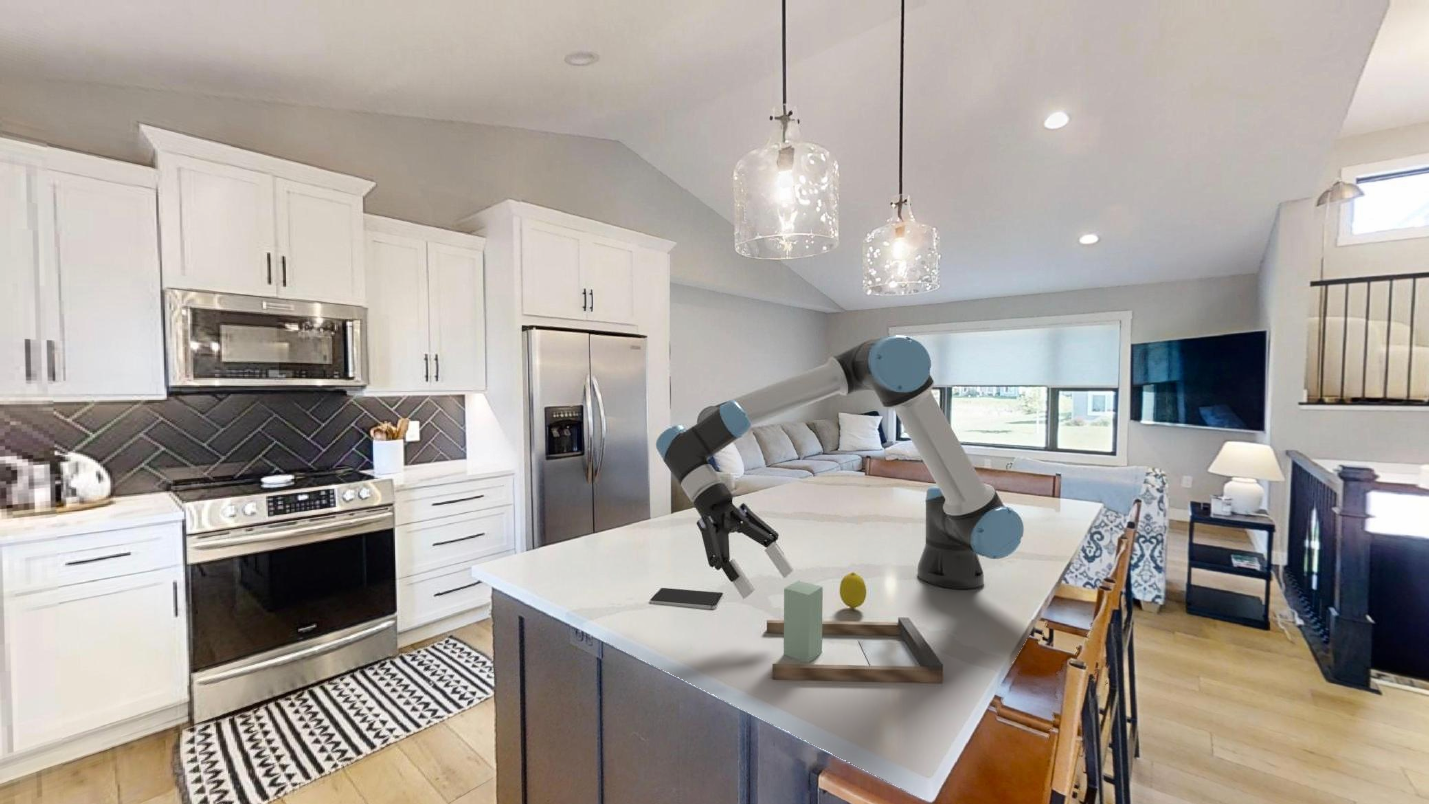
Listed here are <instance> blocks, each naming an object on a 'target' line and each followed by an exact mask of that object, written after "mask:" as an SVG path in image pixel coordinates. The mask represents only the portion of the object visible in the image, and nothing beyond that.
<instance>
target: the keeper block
mask: <svg viewBox="0 0 1429 804" xmlns="http://www.w3.org/2000/svg"><path fill="white" fill-rule="evenodd" d="M823 590H824V589H823V586H821V585H818V584H813V583H808V582H806V581H801V580H797V581H795V582H792V584H790V585H787V586H786V587H784V589H783V620H784V633H783V655H785V656H788V657H790V658H793V659H795V660H798V661H802V662H804V663H806V664H810V662H812V661H813V660H814V659H815V658H817V657H818V656H820V654H822V653H823V634H822V621H823V593H824V592H823Z"/></svg>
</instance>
